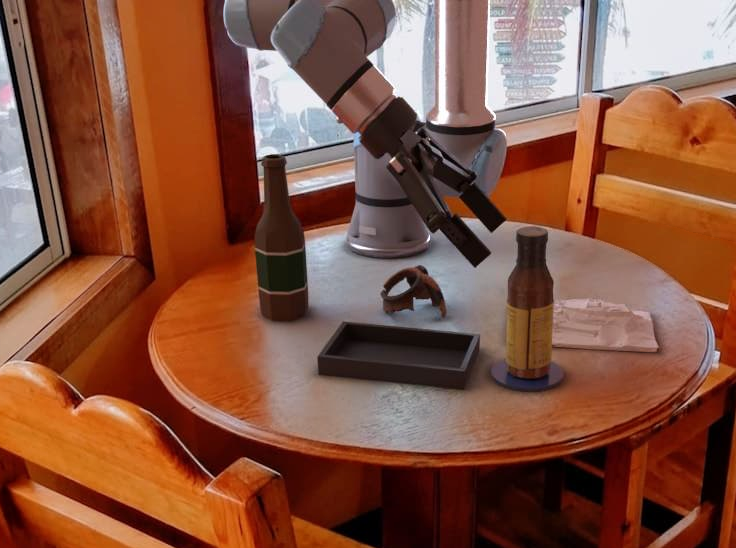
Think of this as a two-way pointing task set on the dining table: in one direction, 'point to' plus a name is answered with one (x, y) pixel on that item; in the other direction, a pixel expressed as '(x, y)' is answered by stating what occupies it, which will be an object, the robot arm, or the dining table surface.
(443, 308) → the brown broken pot
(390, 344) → the tray
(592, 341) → the terrain model
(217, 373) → the dining table surface
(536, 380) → the coaster
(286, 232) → the beer bottle
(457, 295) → the dining table surface
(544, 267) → the sauce bottle
